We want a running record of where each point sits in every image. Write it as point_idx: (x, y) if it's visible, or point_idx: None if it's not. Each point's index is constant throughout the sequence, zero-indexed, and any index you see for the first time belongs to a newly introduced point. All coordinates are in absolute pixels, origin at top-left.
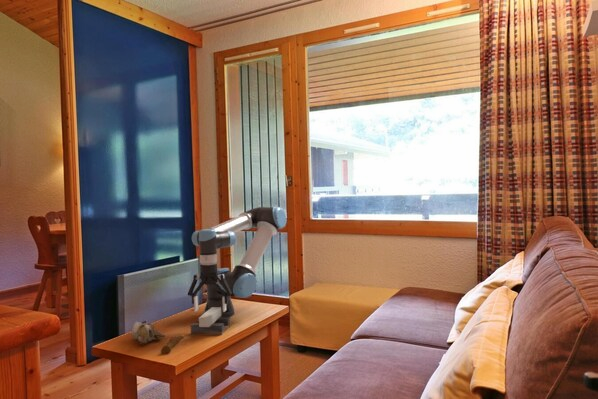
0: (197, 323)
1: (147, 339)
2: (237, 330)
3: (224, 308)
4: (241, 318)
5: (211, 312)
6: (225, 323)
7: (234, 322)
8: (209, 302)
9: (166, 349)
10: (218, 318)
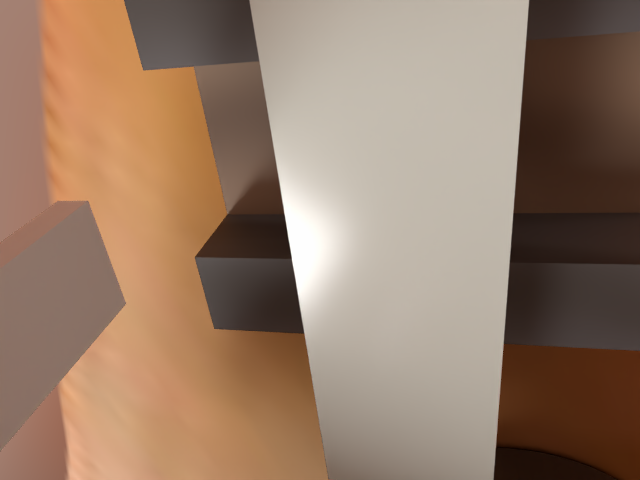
0: (633, 6)
1: None
2: (93, 130)
3: (12, 240)
4: (249, 439)
5: (362, 227)
6: (249, 227)
7: (258, 353)
8: None
9: None
10: None
